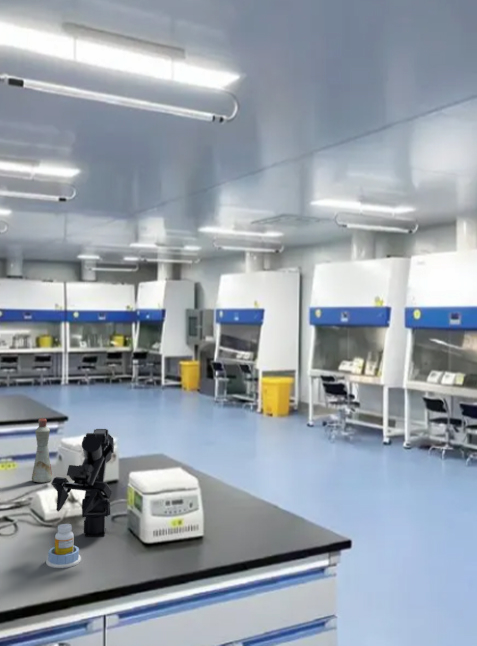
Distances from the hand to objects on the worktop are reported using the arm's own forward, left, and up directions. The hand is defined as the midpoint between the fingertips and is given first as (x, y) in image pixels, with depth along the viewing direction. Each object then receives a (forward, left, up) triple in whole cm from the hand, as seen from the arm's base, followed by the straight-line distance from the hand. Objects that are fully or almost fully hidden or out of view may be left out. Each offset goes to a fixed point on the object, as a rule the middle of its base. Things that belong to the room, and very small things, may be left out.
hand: (70, 512), depth 186 cm
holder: (+1, +3, -14) cm, 14 cm away
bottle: (+24, -88, -14) cm, 92 cm away
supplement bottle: (+1, +3, -13) cm, 13 cm away
